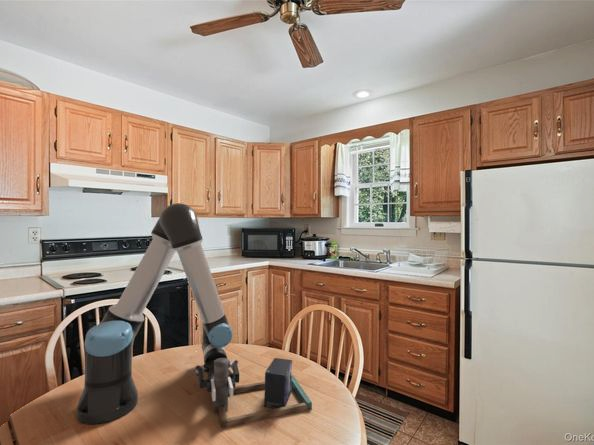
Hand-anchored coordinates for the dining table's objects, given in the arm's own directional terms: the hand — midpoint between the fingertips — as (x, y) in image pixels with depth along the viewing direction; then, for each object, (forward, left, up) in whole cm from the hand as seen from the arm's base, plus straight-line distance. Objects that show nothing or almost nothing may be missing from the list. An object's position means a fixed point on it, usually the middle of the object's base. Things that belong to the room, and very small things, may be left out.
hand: (223, 394), depth 83 cm
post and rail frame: (+11, +5, -7) cm, 15 cm away
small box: (+17, +5, -8) cm, 20 cm away
